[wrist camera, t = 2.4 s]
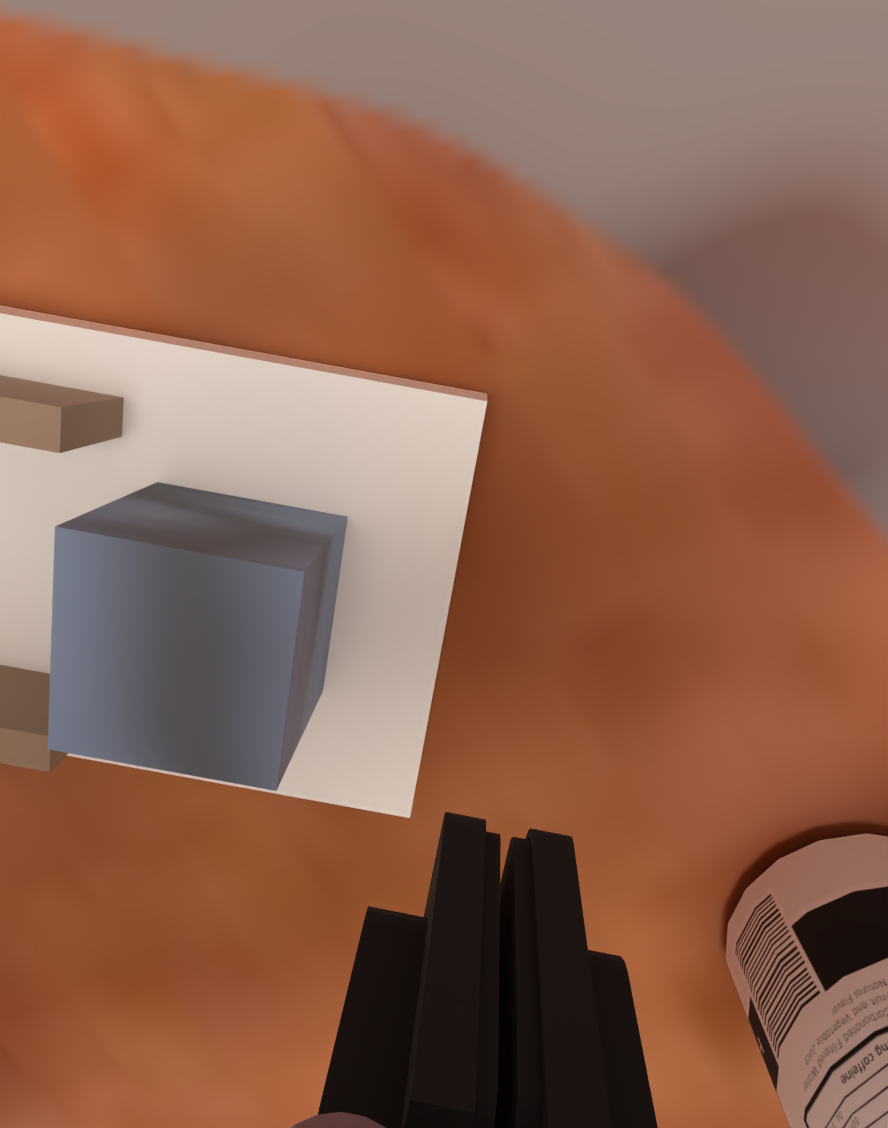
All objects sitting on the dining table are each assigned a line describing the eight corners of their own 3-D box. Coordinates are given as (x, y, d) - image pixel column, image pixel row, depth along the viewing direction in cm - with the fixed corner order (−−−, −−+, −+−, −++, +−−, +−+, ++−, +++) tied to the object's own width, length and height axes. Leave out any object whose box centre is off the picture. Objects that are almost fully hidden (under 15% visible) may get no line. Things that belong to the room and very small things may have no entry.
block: (145, 658, 22) (47, 749, 17) (157, 481, 20) (54, 526, 15) (323, 690, 22) (276, 791, 17) (348, 516, 20) (304, 571, 15)
